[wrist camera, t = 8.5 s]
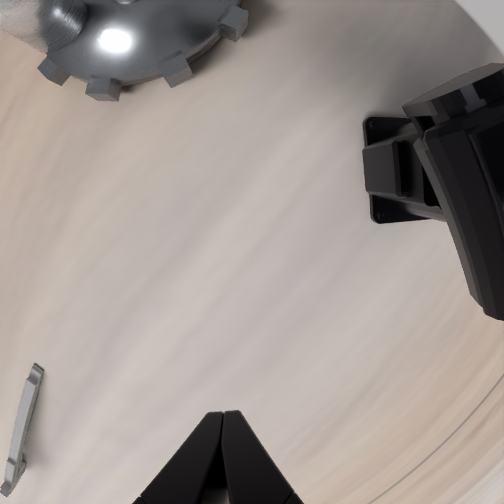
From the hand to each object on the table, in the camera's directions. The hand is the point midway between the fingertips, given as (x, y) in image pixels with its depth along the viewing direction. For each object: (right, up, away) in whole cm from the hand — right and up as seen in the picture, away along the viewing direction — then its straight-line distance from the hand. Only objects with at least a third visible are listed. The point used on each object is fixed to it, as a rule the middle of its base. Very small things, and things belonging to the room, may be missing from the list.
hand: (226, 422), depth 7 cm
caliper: (-22, -13, +15) cm, 30 cm away
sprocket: (-7, +21, +7) cm, 23 cm away
